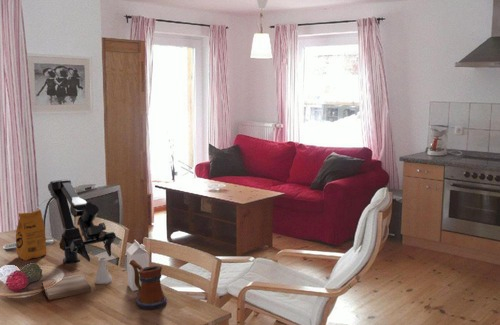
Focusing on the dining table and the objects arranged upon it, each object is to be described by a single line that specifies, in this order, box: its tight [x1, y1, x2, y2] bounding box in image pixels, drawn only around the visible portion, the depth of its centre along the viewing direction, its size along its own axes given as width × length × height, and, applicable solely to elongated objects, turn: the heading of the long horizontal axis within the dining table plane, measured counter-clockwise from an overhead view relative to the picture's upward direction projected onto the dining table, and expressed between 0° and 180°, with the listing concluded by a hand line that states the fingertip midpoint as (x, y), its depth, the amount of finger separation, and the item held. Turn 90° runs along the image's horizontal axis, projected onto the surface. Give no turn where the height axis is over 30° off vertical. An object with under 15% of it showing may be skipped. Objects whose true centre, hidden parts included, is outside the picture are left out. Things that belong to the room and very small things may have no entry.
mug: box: [129, 260, 168, 310], centre depth 200 cm, size 18×12×15 cm, turn 47°
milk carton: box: [126, 239, 150, 292], centre depth 213 cm, size 7×7×19 cm
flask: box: [94, 257, 113, 285], centre depth 220 cm, size 7×7×10 cm
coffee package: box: [15, 209, 47, 261], centre depth 250 cm, size 10×12×22 cm
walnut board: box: [44, 273, 92, 301], centre depth 213 cm, size 16×16×2 cm
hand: (100, 258), depth 220 cm, fingers open, 9 cm apart
